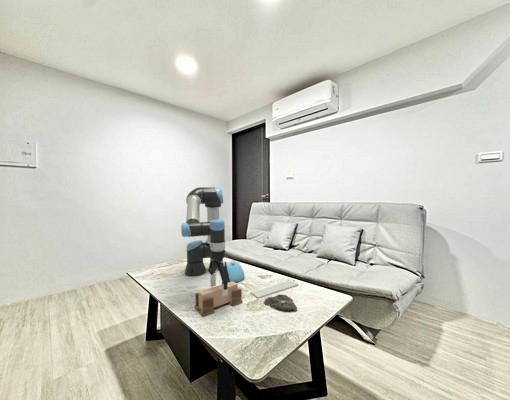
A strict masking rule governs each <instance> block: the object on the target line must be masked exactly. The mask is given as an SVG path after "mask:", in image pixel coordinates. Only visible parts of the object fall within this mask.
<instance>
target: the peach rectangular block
mask: <svg viewBox="0 0 510 400" xmlns="http://www.w3.org/2000/svg"><path fill="white" fill-rule="evenodd" d="M227 286H228V295H226V296H222V284H219V285H216V286H213V287H209V288H206V289H203V290H198V292H197V293H198V295H199V308H200V309H201V310H202V311H203V305H202V300H205V299H209V298H213V308H217V307H220V306H222V305H224V304H229V303H228V302H231V301H232V291H235V290H238V289H239V288H238V287H239V285H238V282H233V281H232V282H228V283H227Z"/></svg>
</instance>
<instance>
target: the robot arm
mask: <svg viewBox="0 0 510 400" xmlns="http://www.w3.org/2000/svg"><path fill="white" fill-rule="evenodd" d="M185 202H186V207H187V208H186V218H185V222H183V223H181V228H180V229H181V236H182V237H183V238H193V237H205V236H206V237H207V238H206V239H205V242H204V241H203V240H194V241H191V242H189V243H187V245H186V267H185V269H184V275H185V274H186V275H185V276H187V275H188V277H199V276H202V275H204V274H206V273H207V271H208V273H209V274H210V275H209V276H210V288H212V287H215V286H217V285H216V284H217V282H216V281H217V280H216V279H217V278H216V271H218V272H219V275H220V278H221V285H222V296H226V295H228V286H227V283H229V282H230V279H229V274H228V270H227V265H228V263H227V261H224V258H225V257H226V250H225V249H226V239H225V237H226V231H225V230H226V229H225V228H226V226H225V220H224V219H220V208H221V207H222V204H224V195H223V190H222V188H221V187H217V186H212V187H211V186H207V187H202V186H201V187H200V186H199V187H195V188H194V189H192V190H191V191H190V192H189V193H188V194H187V195H186V200H185ZM200 205H204V207H205V208H206V212H207V213H206V216H207V217H206V219H207V221H201V220H200V217H201V216H200V215H201V214H200V213H201V212H200V207H201V206H200ZM204 259H210V260H209V261H210V262H209V264H208V265H209V266H208V269H207V270H206V266H205V263H204Z"/></svg>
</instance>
